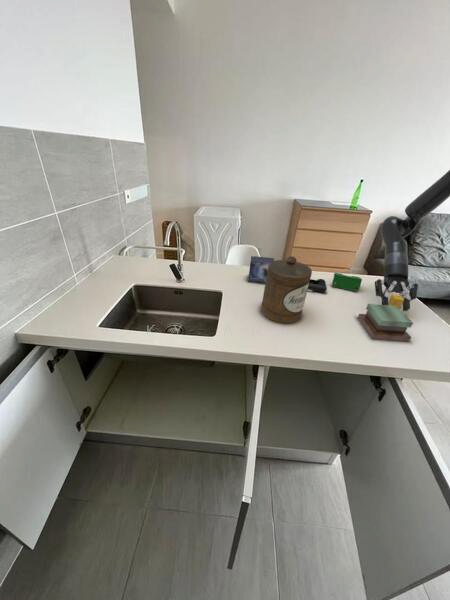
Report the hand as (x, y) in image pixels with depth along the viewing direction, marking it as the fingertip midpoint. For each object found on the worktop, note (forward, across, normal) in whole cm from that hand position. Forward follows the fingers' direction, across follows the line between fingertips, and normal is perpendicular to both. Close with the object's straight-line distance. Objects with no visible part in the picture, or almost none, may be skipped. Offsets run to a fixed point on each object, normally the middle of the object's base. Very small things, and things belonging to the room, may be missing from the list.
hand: (395, 309), depth 88 cm
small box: (-10, -50, +18) cm, 54 cm away
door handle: (-12, -30, +19) cm, 38 cm away
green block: (-14, -11, +21) cm, 27 cm away
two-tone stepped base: (+8, -5, -1) cm, 10 cm away
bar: (+2, 0, +5) cm, 5 cm away
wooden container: (+7, -40, 0) cm, 41 cm away
